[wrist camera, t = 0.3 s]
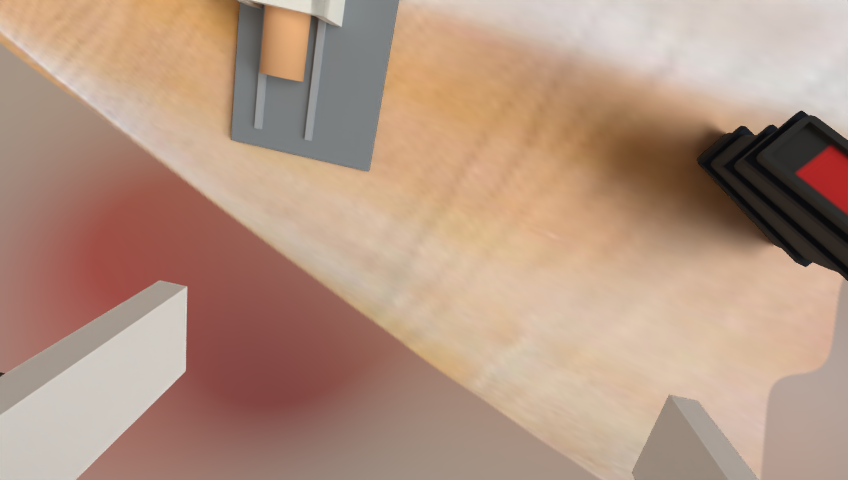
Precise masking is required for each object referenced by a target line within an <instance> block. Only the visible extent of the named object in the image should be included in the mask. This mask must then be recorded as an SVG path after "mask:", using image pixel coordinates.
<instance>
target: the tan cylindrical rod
mask: <svg viewBox="0 0 848 480" xmlns="http://www.w3.org/2000/svg"><path fill="white" fill-rule="evenodd" d="M310 20H311V15H307V14H303V13H299V12H294V11H290V10H285V9H281V8H277V7H272V6H268V5H265V14H264V27H263V39H262V51H261V64H260V73H263V74H267V75H271V76H276V77H280V78H285V79H290V80H295V81H301V82H303V81H304V72H305V64H306V55H307V46H308V37H309V28H310Z"/></svg>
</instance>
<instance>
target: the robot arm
mask: <svg viewBox="0 0 848 480" xmlns="http://www.w3.org/2000/svg"><path fill="white" fill-rule="evenodd" d="M186 320H187V287H186V286H182V285H178V284H174V283H169V282H165V281H158V282H156V283H155V284H153V285H151V286H150V287H148V288H146V289H144V290H143V291H141V292H140V293H138V294H136V295H135V296H133V297H131V298H130V299H128V300H127V301H125V302H123V303H121V304H120V305H118V306H116V307H115V308H113V309H111V310H110V311H109V312H106V313H105V314H103V315H102V316H100V317H98V318H97V319H95V320H93V321H92V322H90V323H88V324H87V325H85V326H83V327H82V328H80V329H78V330H77V331H75V332H74V333H72V334H70V335H68V336H67V337H65V338H63V339H62V340H60V341H58V342H57V343H55V344H53V345H52V346H50V347H49V348H47V349H45V350H44V351H42V352H40V353H39V354H37V355H35V356H34V357H32V358H30V359H29V360H27V361H25V362H24V363H22V364H21V365H19V366H17V367H16V368H14V369H12V370H11V371H9V372H7V373H6V374H5V373H0V480H76V479H77V478H78V477H79V476H80V475H81V474H82V473H83V472H84V471H85V470H86V469H87V468H88V467H89V466H90V465H91V464H92V463H93V462H94V461H95V460H96V459H97V458H98V457H99V456H100V455H101V454H102V453H103V452H104V451H105V450H106V449H107V448H108V447H109V446H110V445H111V444H112V443H113V442H114V441H115V440H116V439H117V438H118V437H119V436H120V435H121V434H122V433H123V432H124V431H126V430H127V429H128V428H129V427H130V425H132V424H133V423H134V421H136V419H137V418H139V417H140V416H141V415H142V414H143V413H144V412H145V411H146V410H147V409H148V408H149V407H150V406H151V405H152V404H153V403H154V402H155V401H156V400H157V399H158V398H159V397H160V396H161V395H162V394H163V393H164V392H165V391H166V390H167V389H168V388H169V387H170V386H171V385H172V384H173V383H174V382H175V381H176V380H177V379H178V378H179V377H180V376H181V375H182V374H183V373H184V372H185V371H186V322H187V321H186ZM632 474H633V476H634V479H635V480H759V479H758V478H757V477H756V475H755V474H754V473H753V472H752V470H751V469H750V468H749V466H748V465H747V464H746V463H745V461H744V460H743V459H742V457H741V456H740V455H739V453H738V452H737V451H736V450H735V448H734V447H733V446H732V444H731V443H730V442H729V441H728V439H727V438H726V437H725V435H724V434H723V433H722V431H721V430H720V429H719V428H718V426H717V425H716V424H715V422H714V421H713V420H712V419H711V417H710V416H709V415H708V413H707V412H706V411H705V409H704V408H703V407H702V406H701V404H700V403H699V402H698V401H696V400H691V399H687V398H683V397H678V396H674V395H669V396H668V398H667V400H666V402H665V404H664V406H663V408H662V411H661V413H660V415H659V417H658V419H657V421H656V423H655V425H654V427H653V429H652V431H651V433H650V436H649V438H648V440H647V442H646V444H645V446H644V448H643V450H642V452H641V454H640V456H639V458H638V460H637V463H636V465H635V467H634V469H633V471H632Z"/></svg>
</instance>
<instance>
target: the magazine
mask: <svg viewBox="0 0 848 480" xmlns="http://www.w3.org/2000/svg"><path fill="white" fill-rule="evenodd" d="M697 161H698V164H699V165H700V166H701V167H702V168H703V169H704V170H705V171H706V172H707V173H708V174H709V175H710V176H711V177H712V178H713V179H714V180H715V182H716V183H717V184H718V185H719V186H720V187H721V188H722V189H723V190H724V191H725V192H726V193H727V194H728V195H729V196H730V198H731V199H732V200H733V201H734V202H735V203H736V204H737V205H738V206H739V207H740V208H741V209H742V210H743V211H744V213H745V214H746V215H747V216H748V217H749V218H750V219H751V220H752V221H753V222H754V223H755V224H756V225H757V226H758V227H759V229H760V230H761V231H762V232H763V233H764V234H765V235H766V236H767V237H768V238H769V239H770V240H771V241H772V242H773V244H774V245H775V246H777V247H780V248H782V249H783V250H784V251H785V252H786V253H787V254H788V255H789V256H790V257H791V258H792V259H793V260H794V261H795V262H796V263H798V264H800V265H802V266H804V267H807V266H808V265H809V264H811V263H812V262H813V263H816V264H818V265H821V266H823V267H825V268H828V269H830V270H833V271H836V272H838V273H840V274H841V275H842V276H843V277H844V278H845V279H846V280H847V281H848V140H847V139H845V138H844V137H843V136H841V135H840V134H839V133H837V132H836V131H835V130H833V129H832V128H831V127H829V126H828V125H826V124H825V123H824V122H822V121H821V120H820V119H818V118H817V117H815V116H811V115H807V114H806V113H805V112H803V111H799V112H798V113H796V114H795V115H794V116H793V117H791V118H790V119H789V120H788V121H787V122H785V123H784V124H783V125H782V126H781V127H779V128H777V127H776V126H774V125H769V126H767V127H766V128H765V129H764V130H763V131H761V132H760V133H759V134H758V135H754V134H753V133H752V132H751V131H750V130H749V129H748V128H747V127H745V126H740V127H738V128H737V129H736V130H735V131H734V132H733V133H727V134H725V135H724V136H723V137H722V138H720V139H719V140H718V141H717V142H716V143H715V144H713V145H712V146H711V147H710V148H709V149H708V150H706V151H705V152H704V153H703V154H702V155H701V156H700V157H698V159H697Z"/></svg>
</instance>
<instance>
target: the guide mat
mask: <svg viewBox="0 0 848 480" xmlns="http://www.w3.org/2000/svg"><path fill="white" fill-rule="evenodd" d="M398 3H399V0H345V6H344V13H343V21H342V27H339V26H334V25H330V24H328V23H327V22H325V21H323V20H321V19H319V18H318V17H316V16H312V15H311V20H310V28H309V37H308V46H307V55H306V64H305V72H304V81H303V82H301V81H295V80H290V79H285V78H280V77H276V76H271V75H267V74H263V73H260V64H261V51H262V39H263V27H264V14H265V5H263V6H262V9H260V8H255V7H251V6H249V5H246V4H244V3H242V2H240V7H239V22H238V38H237V54H236V70H235V86H234V102H233V118H232V134H231V140H234V141H238V142H243V143H247V144H251V145H256V146H260V147H264V148H269V149H273V150H277V151H282V152H286V153H290V154H295V155H299V156H303V157H308V158H312V159H316V160H321V161H325V162H329V163H333V164H338V165H342V166H346V167H351V168H355V169H359V170H364V171H369V170H370V164H371V159H372V153H373V147H374V141H375V136H376V130H377V124H378V118H379V112H380V107H381V101H382V95H383V89H384V84H385V78H386V72H387V66H388V61H389V55H390V49H391V43H392V37H393V32H394V26H395V20H396V14H397V9H398Z"/></svg>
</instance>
